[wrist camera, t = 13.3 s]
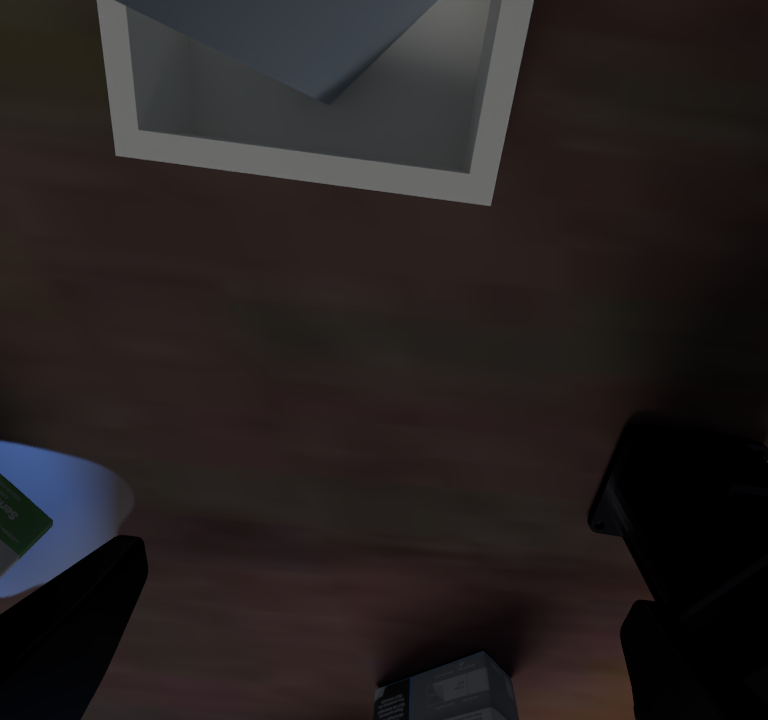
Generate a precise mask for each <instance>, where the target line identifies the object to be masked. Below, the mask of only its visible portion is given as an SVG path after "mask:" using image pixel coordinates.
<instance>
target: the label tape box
mask: <svg viewBox="0 0 768 720" xmlns="http://www.w3.org/2000/svg"><path fill="white" fill-rule="evenodd" d="M373 720H519V717H518V712H517V706H516V700H515V695H514V690H513V684H512V680H511V678H509V676H508V675H507V674H506V673H505V672H504V671H503V670H502V669H501V668H500V667H499V666H498V665H497V664H496V663H495V662H494V661H493V660H492V659H491V658H490V657H489V656H488V655H487V654H486V653H485V652H484V651H481V652H478V653H475V654H473V655H470V656H467V657H465V658H462V659H459V660H456V661H454V662H451V663H448V664H445V665H443V666H440V667H437V668H434V669H432V670H429V671H426V672H423V673H420V674H417V675H415V676H412V677H409V678H406V679H403V680H401V681H398V682H395V683H392V684H389V685H387V686H384V687H381V688H378V689H376V690H375V701H374V713H373Z"/></svg>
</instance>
